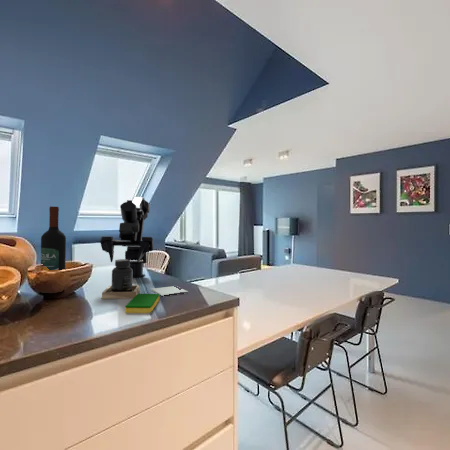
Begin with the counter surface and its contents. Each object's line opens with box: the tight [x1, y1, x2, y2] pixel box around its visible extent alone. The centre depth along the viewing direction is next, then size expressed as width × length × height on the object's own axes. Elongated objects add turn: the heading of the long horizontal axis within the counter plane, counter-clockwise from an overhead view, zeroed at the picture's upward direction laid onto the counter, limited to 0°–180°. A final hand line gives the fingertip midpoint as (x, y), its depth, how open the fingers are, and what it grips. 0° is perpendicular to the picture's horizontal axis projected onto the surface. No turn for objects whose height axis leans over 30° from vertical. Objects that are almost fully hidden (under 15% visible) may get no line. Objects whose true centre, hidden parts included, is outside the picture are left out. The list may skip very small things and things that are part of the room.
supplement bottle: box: [111, 258, 134, 292], centre depth 99 cm, size 7×7×12 cm
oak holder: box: [101, 284, 141, 300], centre depth 99 cm, size 11×11×2 cm
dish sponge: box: [124, 293, 160, 314], centre depth 87 cm, size 7×14×2 cm, turn 3°
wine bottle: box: [40, 206, 67, 270], centre depth 101 cm, size 8×8×30 cm
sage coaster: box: [150, 285, 189, 297], centre depth 105 cm, size 10×10×1 cm
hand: (124, 261), depth 103 cm, fingers open, 9 cm apart
